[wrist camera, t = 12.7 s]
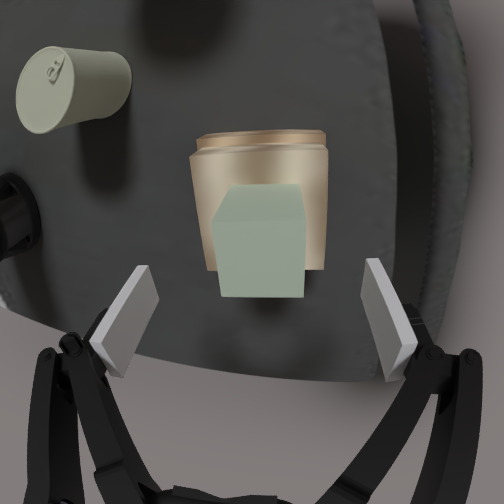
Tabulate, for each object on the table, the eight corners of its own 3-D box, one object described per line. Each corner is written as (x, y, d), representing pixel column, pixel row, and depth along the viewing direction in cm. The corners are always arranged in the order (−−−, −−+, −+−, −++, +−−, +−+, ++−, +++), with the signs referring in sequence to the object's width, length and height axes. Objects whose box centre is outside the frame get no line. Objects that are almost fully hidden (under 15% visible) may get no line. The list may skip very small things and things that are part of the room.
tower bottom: (218, 232, 38) (211, 249, 34) (206, 133, 31) (196, 139, 27) (318, 231, 36) (322, 248, 32) (319, 129, 30) (325, 134, 26)
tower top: (215, 249, 34) (207, 270, 30) (202, 147, 28) (189, 156, 24) (318, 247, 32) (323, 269, 29) (320, 142, 26) (328, 150, 23)
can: (146, 79, 28) (87, 77, 17) (102, 132, 31) (40, 154, 21) (105, 39, 24) (42, 30, 14) (66, 91, 28) (3, 103, 18)
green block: (236, 244, 28) (221, 296, 21) (230, 185, 25) (210, 222, 18) (298, 244, 27) (303, 297, 20) (299, 183, 24) (306, 220, 17)
